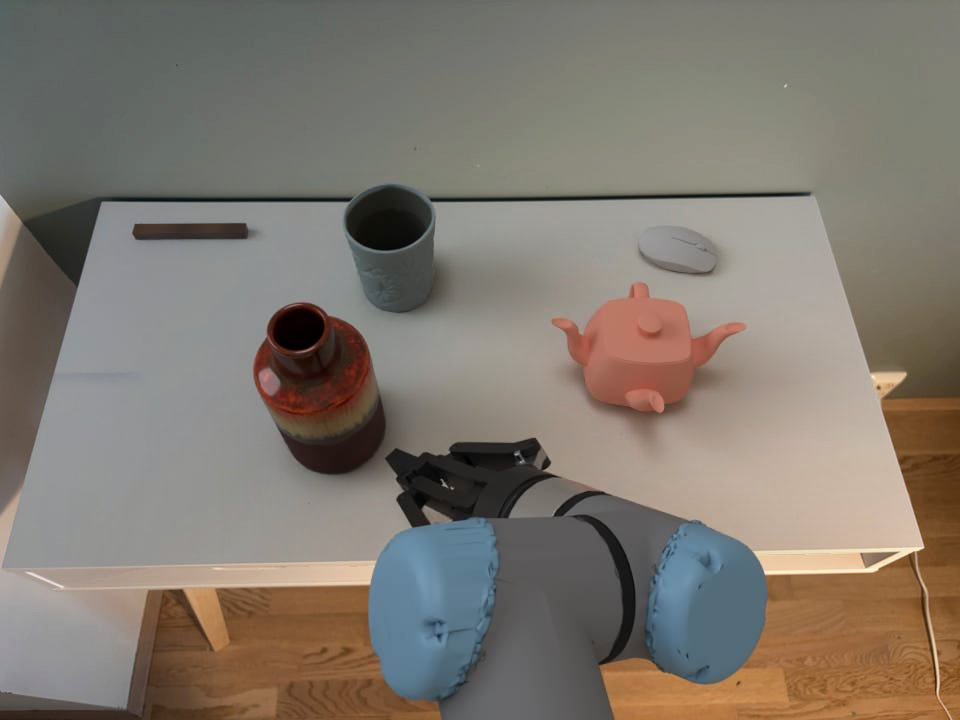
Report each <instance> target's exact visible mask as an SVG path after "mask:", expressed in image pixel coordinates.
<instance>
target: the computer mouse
mask: <svg viewBox="0 0 960 720" xmlns="http://www.w3.org/2000/svg"><path fill="white" fill-rule="evenodd" d="M638 247H639V249H640V251H641V253H642V254H643V256H644V257H645V258H646V259H647V260H649V261H650V262H651V263H653V264H655V265H656V266H658V267H660V268H662V269H665V270H669V271H673V272H677V273H687V274H697V273H708V272H710V271H712V270H713V269H714V267H715V266H716V264H717V259H718V251H717V246H716V245H715V244H714V243H713V242H712V241H711V240H710V239H709V238H707V237H706V236H704V235H703V234H701V233H699V232H697V231H695V230H693V229H691V228H688V227H683V226H679V225H659V226H654V227H653V226H652V227H649V228H646V229H644V230H642V231H641V232H640V233H639V236H638Z"/></svg>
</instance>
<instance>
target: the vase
mask: <svg viewBox="0 0 960 720" xmlns="http://www.w3.org/2000/svg"><path fill="white" fill-rule="evenodd" d="M252 370H253V371H252V374H253V380H254V385H255V387H256V390H257V392H258V395H259V396H260V398H261V400H262V402H263V404H264V406H265V408H266V410H267V411H268V413H269V415H270V417H271V419H272V421H273V423H274V424H275V427H276V428H277V430H278V432H279V434H280V436H281V437H282V439H283V441H284V442H285V444H286V446H287V448H288V450H289V451H290V454H291V455H292V456H293V457H294V459H295V460H296V461H297V462H298V463H299V464H300V465H302V466H303V467H304V468H306V469H308V470H309V471H311V472H315V473H318V474H323V475H340V474H346V473H350V472H352V471H355V470H357V469H358V468H360V467H362V466H363V465H365V464H366V463H368V462H369V461H370V460H371V459H372V458H373V457H374V456H375V455H376V453H377V452H378V451H379V449H380V447H381V446H382V443H383V441H384V438H385V433H386V426H387V425H386V424H387V423H386V416H385V410H384V407H383V402H382V397H381V393H380V389H379V385H378V381H377V375H376V372H375V368H374V364H373V360H372V355H371V352H370V349H369V345H368V343H367V341H366V340H365V338H364V336H363V335H362V334H361V332H360V331H359V330H358V329H357V328H356V327H354V325H352V324H351V323H349V322H347V321H346V320H343V319H341V318H339V317H336V316H332V315H328V313H327V312H326V311H325V310H324V309H323V308H322V307H321V306H319V305H316V304H314V303H311V302H303V301H300V302H299V301H298V302H293V303H289V304H287V305H285V306H283V307H281V308H279V309H278V310H277V311H276V312H275V313H273V315H272V316H271V317H270V319H269V321H268V323H267V326H266V337H265V339H264V340H263V341H262V342H261V344H260V346H259V348H258V349H257V351H256V354H255V357H254V359H253V366H252Z"/></svg>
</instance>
